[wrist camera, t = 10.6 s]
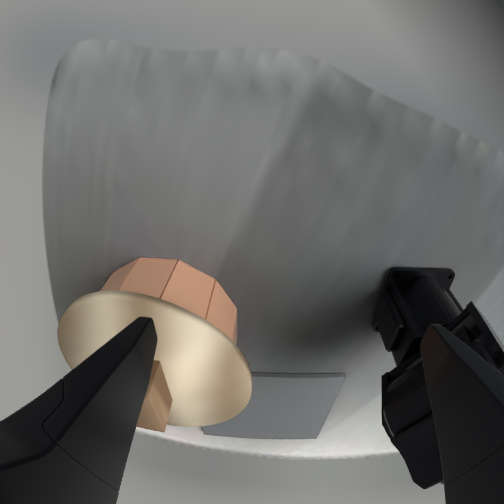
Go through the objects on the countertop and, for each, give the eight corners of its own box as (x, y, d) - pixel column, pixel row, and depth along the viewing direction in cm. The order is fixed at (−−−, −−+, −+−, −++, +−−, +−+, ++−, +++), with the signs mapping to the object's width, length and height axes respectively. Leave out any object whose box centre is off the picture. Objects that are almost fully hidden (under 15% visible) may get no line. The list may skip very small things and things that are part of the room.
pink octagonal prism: (236, 262, 22) (227, 318, 16) (237, 365, 28) (232, 417, 22) (93, 254, 22) (55, 298, 17) (125, 352, 28) (106, 397, 23)
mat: (345, 373, 28) (345, 376, 27) (316, 435, 36) (316, 438, 35) (189, 367, 28) (188, 371, 28) (204, 431, 36) (204, 434, 36)
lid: (255, 300, 16) (252, 355, 12) (250, 426, 23) (247, 463, 20) (35, 279, 16) (5, 314, 13) (99, 402, 24) (86, 432, 20)
